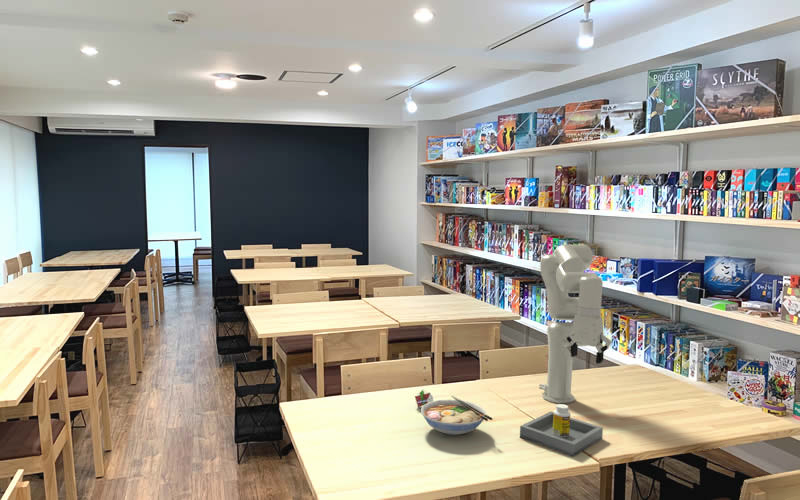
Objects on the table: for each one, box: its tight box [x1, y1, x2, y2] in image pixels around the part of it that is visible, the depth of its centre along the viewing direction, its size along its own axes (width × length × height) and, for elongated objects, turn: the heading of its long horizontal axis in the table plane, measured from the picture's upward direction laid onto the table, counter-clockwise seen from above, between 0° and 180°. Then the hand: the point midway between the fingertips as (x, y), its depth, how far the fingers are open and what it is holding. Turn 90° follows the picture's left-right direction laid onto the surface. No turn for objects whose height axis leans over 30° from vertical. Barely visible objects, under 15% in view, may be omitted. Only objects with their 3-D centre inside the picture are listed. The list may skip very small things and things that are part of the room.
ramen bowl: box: [420, 395, 493, 436], centre depth 203 cm, size 25×23×8 cm
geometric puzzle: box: [414, 389, 434, 408], centre depth 225 cm, size 7×7×8 cm
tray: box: [519, 411, 604, 457], centre depth 199 cm, size 20×20×4 cm
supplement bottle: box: [553, 403, 571, 438], centre depth 199 cm, size 6×6×10 cm
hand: (586, 359), depth 204 cm, fingers open, 9 cm apart
